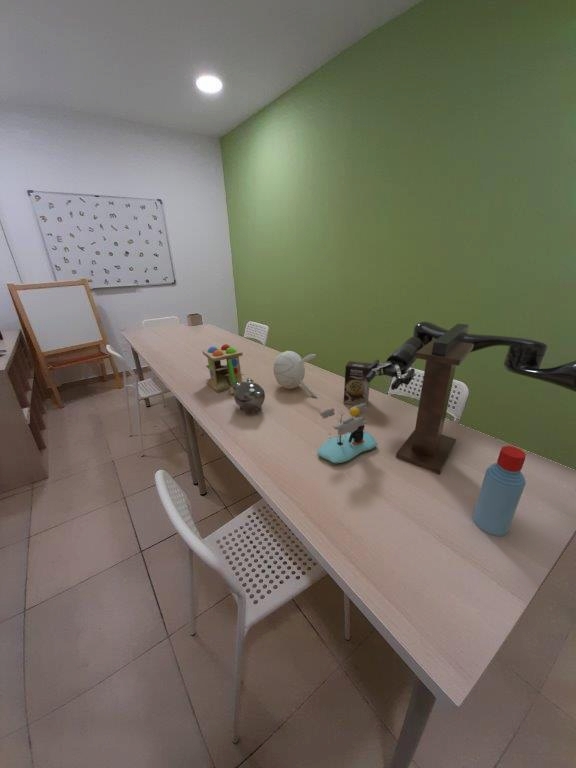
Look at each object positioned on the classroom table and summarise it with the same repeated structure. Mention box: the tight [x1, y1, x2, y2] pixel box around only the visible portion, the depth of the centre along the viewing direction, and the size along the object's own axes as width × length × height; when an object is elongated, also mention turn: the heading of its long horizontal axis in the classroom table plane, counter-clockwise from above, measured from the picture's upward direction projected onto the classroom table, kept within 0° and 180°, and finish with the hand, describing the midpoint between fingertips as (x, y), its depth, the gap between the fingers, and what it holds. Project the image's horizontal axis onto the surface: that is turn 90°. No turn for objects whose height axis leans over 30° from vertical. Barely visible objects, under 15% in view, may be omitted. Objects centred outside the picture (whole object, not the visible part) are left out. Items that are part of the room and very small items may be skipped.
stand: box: [395, 338, 474, 475], centre depth 84 cm, size 12×18×32 cm, turn 140°
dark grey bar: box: [432, 323, 469, 356], centre depth 80 cm, size 3×24×3 cm, turn 140°
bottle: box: [472, 462, 526, 537], centre depth 62 cm, size 7×7×18 cm
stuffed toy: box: [273, 350, 318, 399], centre depth 130 cm, size 19×14×25 cm
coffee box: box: [343, 360, 372, 406], centre depth 117 cm, size 9×6×16 cm
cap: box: [496, 445, 527, 472], centre depth 59 cm, size 4×4×3 cm
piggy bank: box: [233, 377, 266, 416], centre depth 115 cm, size 11×15×12 cm
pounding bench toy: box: [202, 344, 247, 396], centre depth 135 cm, size 23×14×18 cm, turn 32°
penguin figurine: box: [317, 403, 378, 464], centre depth 89 cm, size 20×11×15 cm, turn 119°
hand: (379, 383), depth 96 cm, fingers open, 8 cm apart
